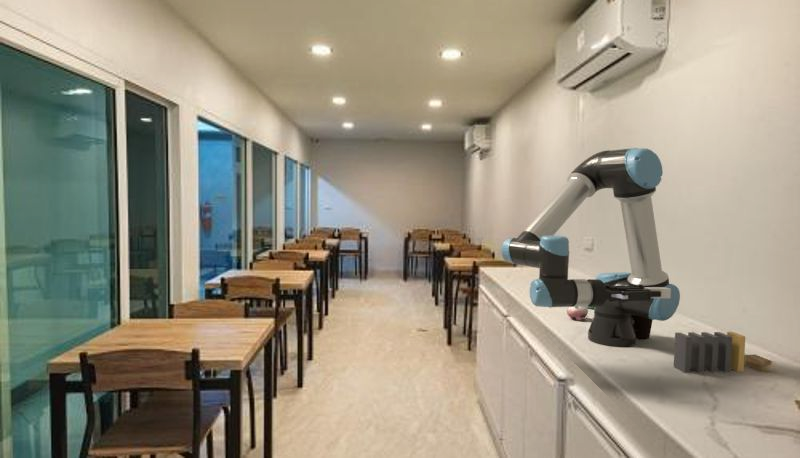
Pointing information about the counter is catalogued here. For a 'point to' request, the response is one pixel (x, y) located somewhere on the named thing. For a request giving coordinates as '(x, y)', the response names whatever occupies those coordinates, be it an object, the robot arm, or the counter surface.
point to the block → (758, 363)
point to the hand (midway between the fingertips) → (667, 292)
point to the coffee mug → (641, 327)
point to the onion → (577, 313)
